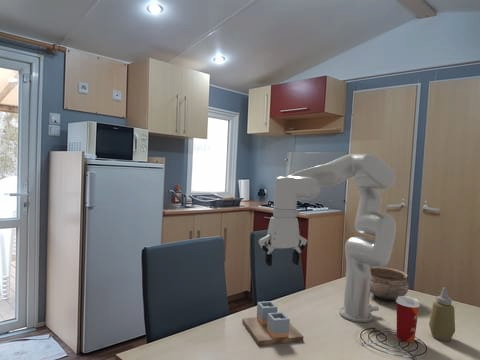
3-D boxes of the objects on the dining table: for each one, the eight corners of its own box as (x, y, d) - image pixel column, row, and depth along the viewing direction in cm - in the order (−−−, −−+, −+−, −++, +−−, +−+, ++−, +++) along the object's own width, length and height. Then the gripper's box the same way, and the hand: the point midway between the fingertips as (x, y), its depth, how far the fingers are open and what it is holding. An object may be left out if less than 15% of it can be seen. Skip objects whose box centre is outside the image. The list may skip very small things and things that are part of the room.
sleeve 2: (281, 329, 120) (282, 312, 119) (288, 336, 114) (289, 319, 114) (266, 330, 118) (267, 313, 118) (272, 338, 113) (273, 320, 112)
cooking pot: (351, 289, 170) (352, 265, 169) (382, 287, 175) (384, 264, 175) (387, 310, 146) (389, 281, 145) (422, 307, 152) (424, 279, 151)
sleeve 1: (270, 316, 129) (271, 301, 129) (276, 323, 124) (277, 307, 124) (256, 318, 127) (257, 302, 127) (261, 324, 122) (262, 308, 122)
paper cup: (420, 345, 116) (423, 304, 116) (396, 342, 118) (399, 301, 117) (413, 335, 124) (416, 296, 124) (391, 331, 126) (393, 294, 125)
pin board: (282, 318, 131) (283, 302, 131) (303, 340, 115) (304, 321, 115) (242, 322, 127) (243, 304, 126) (258, 345, 110) (259, 325, 110)
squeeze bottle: (454, 345, 118) (458, 293, 117) (427, 338, 122) (431, 288, 121) (454, 336, 125) (458, 287, 124) (429, 330, 129) (432, 282, 128)
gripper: (302, 212, 121) (300, 260, 122) (256, 212, 116) (254, 262, 116) (313, 215, 114) (310, 266, 115) (264, 215, 109) (262, 269, 109)
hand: (282, 264), depth 116 cm, fingers open, 9 cm apart
